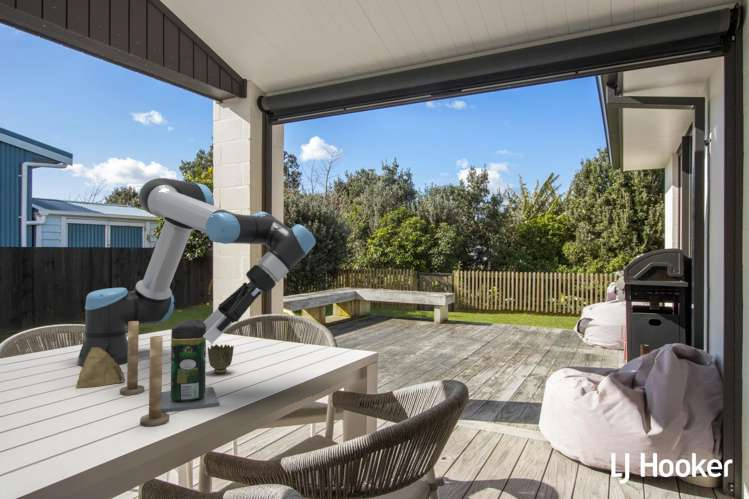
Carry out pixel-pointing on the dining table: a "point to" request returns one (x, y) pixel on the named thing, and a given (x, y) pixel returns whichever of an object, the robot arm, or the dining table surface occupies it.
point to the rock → (99, 370)
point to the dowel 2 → (155, 386)
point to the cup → (220, 357)
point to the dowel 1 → (132, 361)
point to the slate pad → (206, 401)
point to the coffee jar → (188, 361)
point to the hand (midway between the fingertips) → (204, 335)
